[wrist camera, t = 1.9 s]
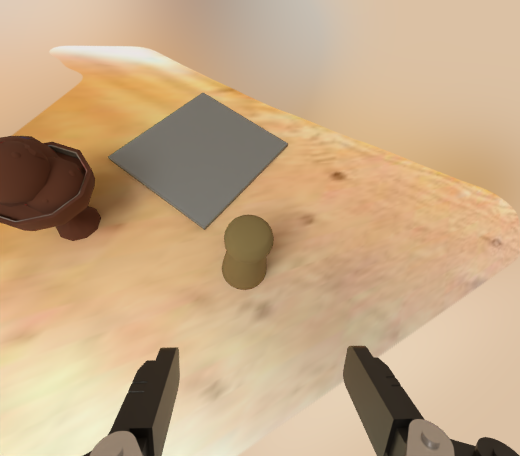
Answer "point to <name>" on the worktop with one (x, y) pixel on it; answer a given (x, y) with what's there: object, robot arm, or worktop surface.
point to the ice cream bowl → (46, 187)
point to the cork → (246, 251)
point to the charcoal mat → (199, 157)
